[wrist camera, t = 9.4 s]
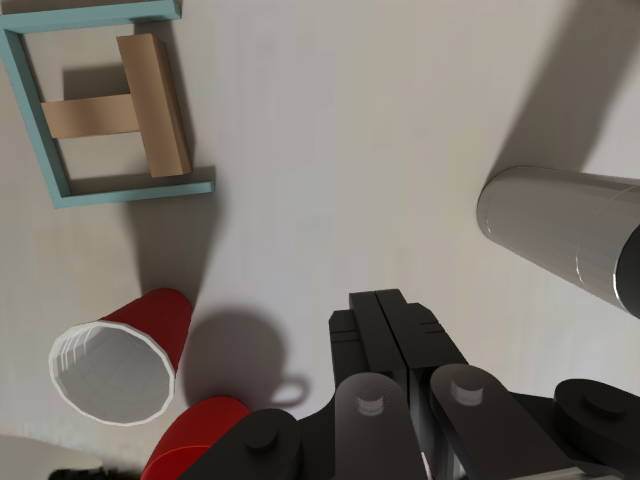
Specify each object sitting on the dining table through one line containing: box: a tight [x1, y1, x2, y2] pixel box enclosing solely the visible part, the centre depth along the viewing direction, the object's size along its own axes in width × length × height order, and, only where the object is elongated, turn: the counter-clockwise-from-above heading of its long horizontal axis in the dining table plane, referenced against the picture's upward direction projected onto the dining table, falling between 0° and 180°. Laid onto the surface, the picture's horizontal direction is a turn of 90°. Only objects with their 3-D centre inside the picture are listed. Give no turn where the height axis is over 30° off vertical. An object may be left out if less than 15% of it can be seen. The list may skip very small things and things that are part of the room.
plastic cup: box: [48, 288, 192, 427], centre depth 33 cm, size 11×11×12 cm
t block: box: [41, 33, 193, 178], centre depth 31 cm, size 11×12×3 cm
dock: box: [0, 0, 215, 209], centre depth 31 cm, size 16×17×2 cm
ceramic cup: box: [141, 396, 251, 480], centre depth 39 cm, size 13×17×10 cm
